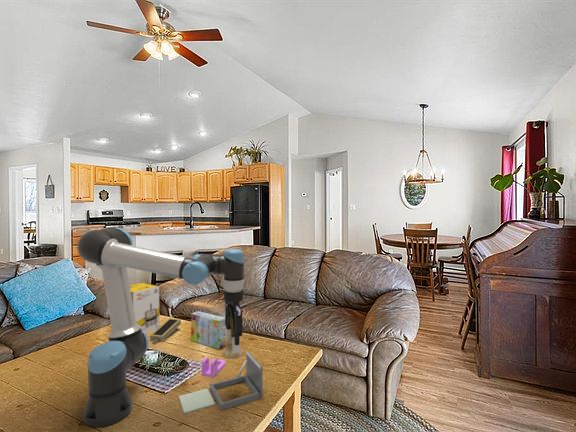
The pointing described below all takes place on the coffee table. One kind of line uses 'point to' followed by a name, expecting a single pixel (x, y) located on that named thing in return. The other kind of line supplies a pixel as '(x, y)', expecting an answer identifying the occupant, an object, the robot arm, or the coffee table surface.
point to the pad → (196, 400)
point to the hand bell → (228, 351)
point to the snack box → (208, 329)
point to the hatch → (251, 379)
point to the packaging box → (146, 306)
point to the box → (165, 330)
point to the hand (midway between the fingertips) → (233, 348)
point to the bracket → (211, 367)
